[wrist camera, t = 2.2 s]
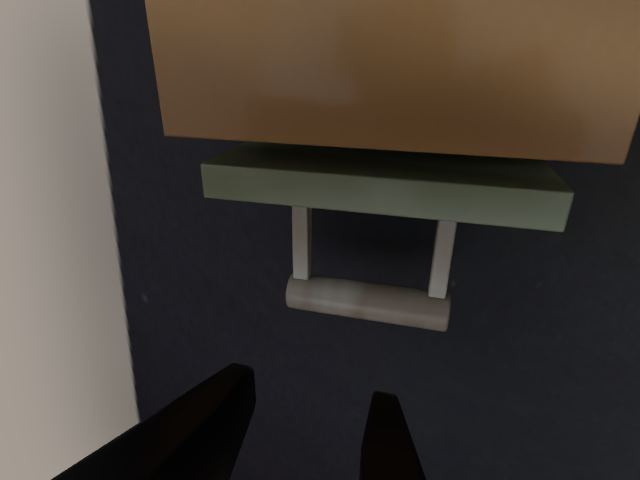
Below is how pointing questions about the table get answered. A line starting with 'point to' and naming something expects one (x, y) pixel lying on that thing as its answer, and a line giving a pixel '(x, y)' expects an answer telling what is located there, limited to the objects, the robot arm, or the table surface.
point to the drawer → (387, 212)
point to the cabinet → (404, 74)
